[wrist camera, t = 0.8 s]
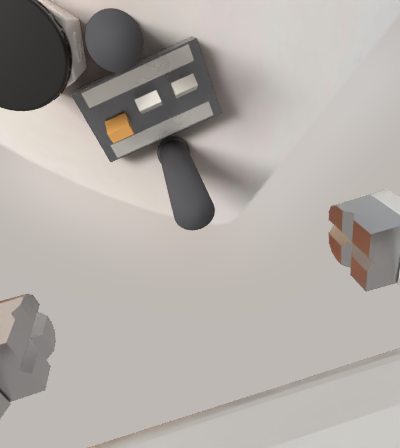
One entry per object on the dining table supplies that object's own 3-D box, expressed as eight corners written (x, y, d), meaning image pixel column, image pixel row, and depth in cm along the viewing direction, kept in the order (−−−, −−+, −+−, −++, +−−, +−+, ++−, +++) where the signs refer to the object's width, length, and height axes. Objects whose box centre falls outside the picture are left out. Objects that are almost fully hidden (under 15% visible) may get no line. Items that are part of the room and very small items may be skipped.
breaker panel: (191, 36, 36) (196, 37, 33) (215, 107, 40) (222, 113, 38) (75, 90, 37) (71, 95, 34) (111, 153, 41) (110, 163, 38)
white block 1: (158, 93, 35) (156, 89, 33) (162, 104, 36) (161, 101, 33) (137, 103, 35) (134, 99, 33) (142, 113, 36) (139, 111, 33)
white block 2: (192, 78, 35) (193, 73, 33) (196, 89, 35) (197, 85, 33) (171, 87, 35) (170, 83, 33) (176, 98, 36) (175, 94, 33)
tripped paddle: (125, 112, 35) (128, 125, 34) (130, 121, 36) (133, 134, 35) (104, 121, 35) (107, 134, 34) (110, 130, 36) (113, 143, 35)
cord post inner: (127, 4, 33) (128, -8, 20) (145, 46, 36) (156, 61, 22) (92, 21, 34) (68, 20, 20) (111, 61, 36) (102, 85, 22)
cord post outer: (181, 131, 41) (207, 184, 28) (193, 159, 43) (222, 221, 30) (152, 144, 41) (163, 203, 28) (165, 171, 43) (182, 238, 30)
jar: (92, 90, 37) (78, 115, 27) (13, 91, 36) (-32, 119, 25) (77, -8, 32) (54, -22, 22) (-14, -11, 31) (-82, -26, 21)
